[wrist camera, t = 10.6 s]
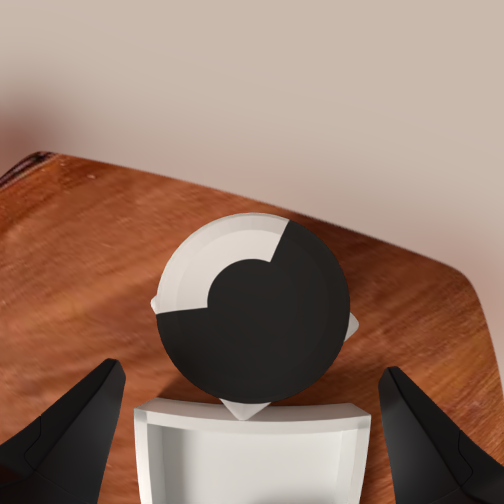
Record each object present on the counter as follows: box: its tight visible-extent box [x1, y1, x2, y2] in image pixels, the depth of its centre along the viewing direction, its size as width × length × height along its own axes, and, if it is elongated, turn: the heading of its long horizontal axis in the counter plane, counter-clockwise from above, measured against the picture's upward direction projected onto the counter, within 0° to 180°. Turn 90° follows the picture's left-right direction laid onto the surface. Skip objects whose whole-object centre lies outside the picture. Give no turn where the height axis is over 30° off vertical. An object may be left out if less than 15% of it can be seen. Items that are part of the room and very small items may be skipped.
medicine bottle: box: [151, 213, 359, 421], centre depth 14 cm, size 7×7×12 cm
